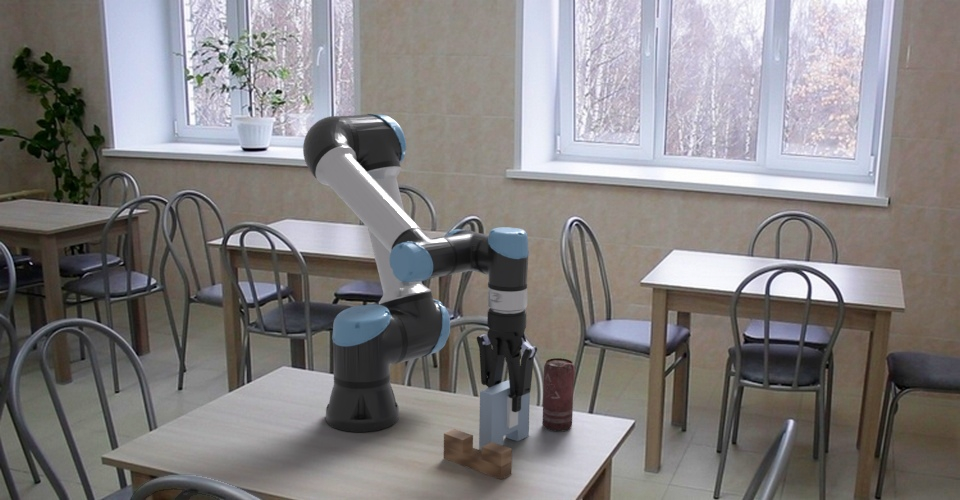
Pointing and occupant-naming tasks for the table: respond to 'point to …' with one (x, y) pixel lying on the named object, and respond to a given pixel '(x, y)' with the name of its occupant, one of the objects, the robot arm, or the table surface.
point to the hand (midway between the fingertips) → (504, 423)
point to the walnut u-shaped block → (477, 454)
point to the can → (558, 394)
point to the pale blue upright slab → (501, 416)
